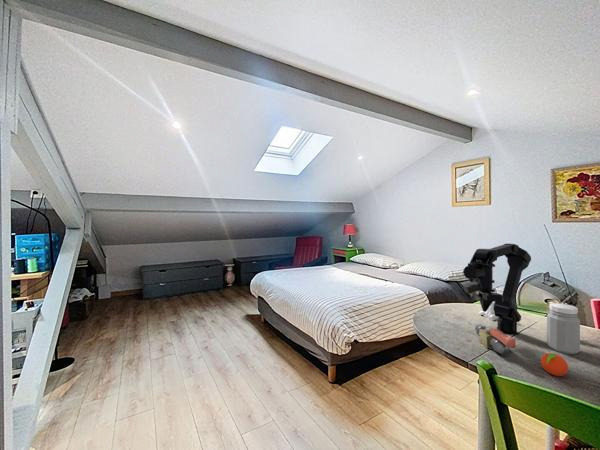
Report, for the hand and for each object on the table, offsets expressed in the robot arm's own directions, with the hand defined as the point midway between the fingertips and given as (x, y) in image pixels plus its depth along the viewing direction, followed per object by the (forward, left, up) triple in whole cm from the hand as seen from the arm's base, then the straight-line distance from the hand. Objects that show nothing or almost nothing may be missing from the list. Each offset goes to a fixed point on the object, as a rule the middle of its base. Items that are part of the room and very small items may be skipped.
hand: (484, 311), depth 122 cm
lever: (+1, +14, -6) cm, 16 cm away
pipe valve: (+1, +8, -12) cm, 14 cm away
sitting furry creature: (-16, -28, -12) cm, 35 cm away
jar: (-26, +7, -12) cm, 30 cm away
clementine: (-9, +28, -12) cm, 32 cm away
